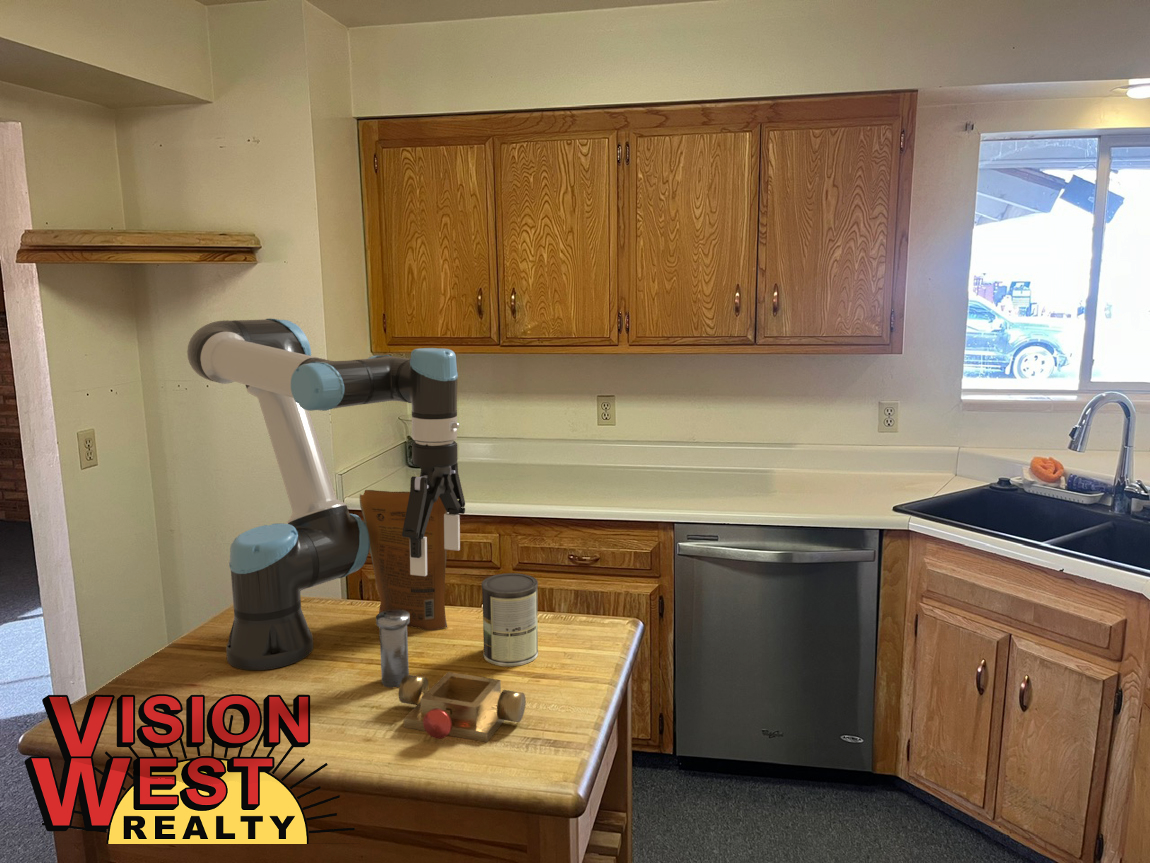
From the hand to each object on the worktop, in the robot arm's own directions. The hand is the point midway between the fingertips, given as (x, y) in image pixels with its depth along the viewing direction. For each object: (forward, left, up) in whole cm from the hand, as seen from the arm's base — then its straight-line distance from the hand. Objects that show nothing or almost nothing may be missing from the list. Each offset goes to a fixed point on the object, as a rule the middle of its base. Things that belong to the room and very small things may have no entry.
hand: (436, 561), depth 140 cm
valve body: (+10, -14, -21) cm, 27 cm away
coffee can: (+9, +11, -21) cm, 25 cm away
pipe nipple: (-6, -5, -21) cm, 22 cm away
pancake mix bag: (-16, +18, -21) cm, 32 cm away
